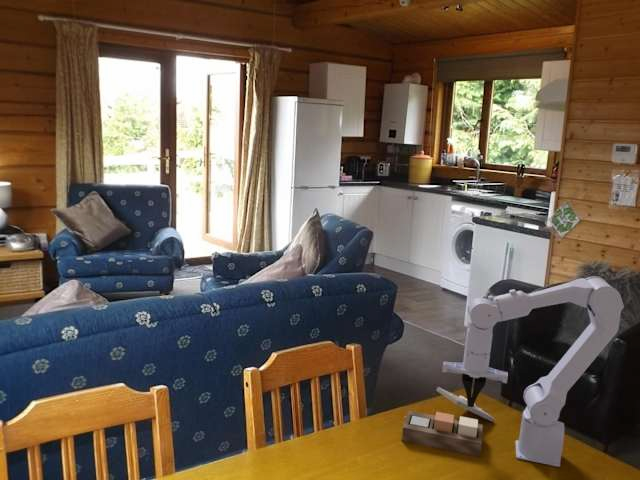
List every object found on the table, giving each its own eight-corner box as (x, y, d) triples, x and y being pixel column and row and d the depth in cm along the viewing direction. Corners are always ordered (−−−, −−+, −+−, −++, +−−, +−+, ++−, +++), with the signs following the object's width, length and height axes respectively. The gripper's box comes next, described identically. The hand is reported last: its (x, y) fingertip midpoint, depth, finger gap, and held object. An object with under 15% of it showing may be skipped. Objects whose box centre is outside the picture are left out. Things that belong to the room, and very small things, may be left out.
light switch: (496, 415, 155) (460, 397, 148) (485, 435, 155) (449, 419, 147) (474, 400, 162) (439, 383, 155) (464, 420, 162) (428, 403, 155)
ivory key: (476, 431, 144) (477, 419, 143) (475, 439, 140) (477, 427, 139) (458, 427, 145) (459, 416, 144) (457, 436, 141) (458, 424, 140)
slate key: (428, 430, 147) (429, 419, 147) (426, 438, 143) (427, 427, 143) (411, 426, 148) (412, 415, 148) (408, 435, 144) (410, 423, 144)
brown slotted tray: (480, 438, 146) (482, 424, 146) (479, 457, 138) (481, 443, 137) (407, 423, 151) (408, 410, 150) (401, 440, 142) (403, 427, 142)
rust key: (452, 426, 145) (454, 415, 145) (451, 434, 141) (452, 423, 141) (435, 423, 146) (436, 411, 146) (433, 431, 142) (434, 419, 142)
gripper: (444, 351, 136) (437, 406, 139) (510, 362, 132) (502, 418, 135) (446, 340, 143) (440, 393, 146) (510, 351, 139) (502, 405, 142)
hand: (470, 405), depth 141 cm, fingers closed
